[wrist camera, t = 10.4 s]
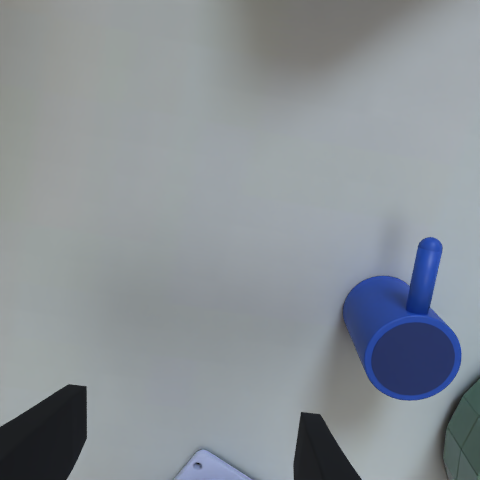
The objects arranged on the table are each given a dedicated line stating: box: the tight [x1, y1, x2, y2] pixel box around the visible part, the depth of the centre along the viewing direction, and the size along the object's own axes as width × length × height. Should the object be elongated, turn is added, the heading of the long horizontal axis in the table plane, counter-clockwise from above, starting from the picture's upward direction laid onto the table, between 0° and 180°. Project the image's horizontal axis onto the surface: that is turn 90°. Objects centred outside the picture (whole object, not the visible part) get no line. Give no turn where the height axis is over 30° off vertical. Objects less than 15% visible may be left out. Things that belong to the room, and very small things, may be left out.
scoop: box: [343, 237, 461, 400], centre depth 19 cm, size 7×4×5 cm, turn 175°
